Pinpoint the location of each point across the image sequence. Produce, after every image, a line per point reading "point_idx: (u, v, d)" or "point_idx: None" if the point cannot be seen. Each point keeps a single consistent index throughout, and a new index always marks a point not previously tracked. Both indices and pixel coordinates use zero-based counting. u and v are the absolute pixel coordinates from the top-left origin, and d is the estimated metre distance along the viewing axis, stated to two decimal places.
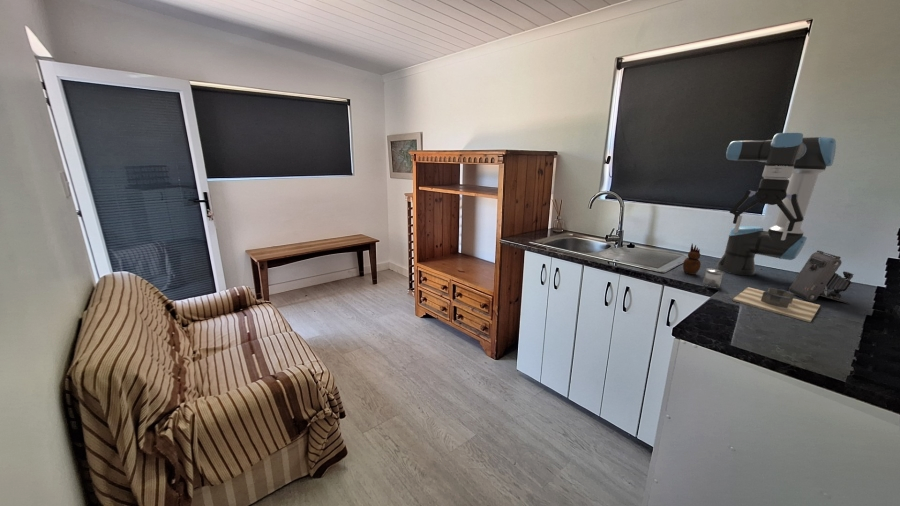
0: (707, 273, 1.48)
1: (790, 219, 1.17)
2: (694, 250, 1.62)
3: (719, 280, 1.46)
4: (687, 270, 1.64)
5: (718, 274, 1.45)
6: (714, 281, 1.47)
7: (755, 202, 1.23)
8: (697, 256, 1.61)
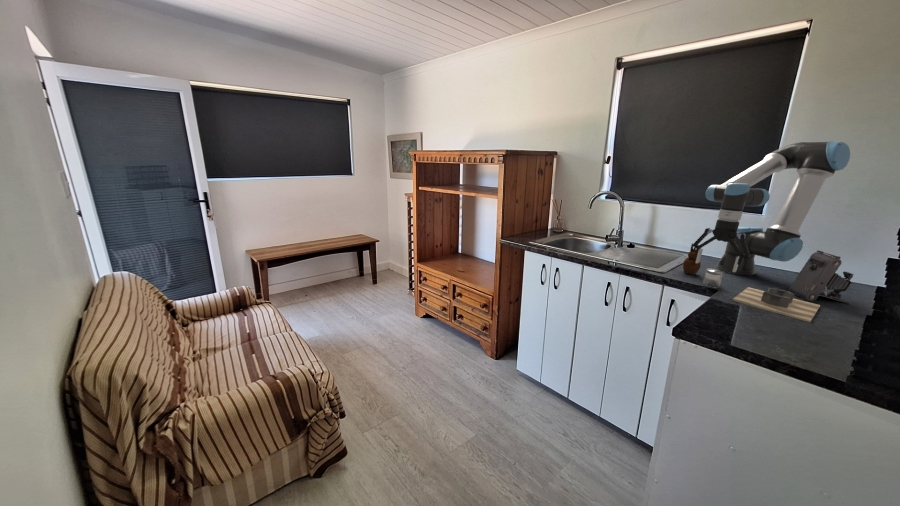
0: (707, 273, 1.48)
1: (739, 255, 1.39)
2: (694, 250, 1.62)
3: (719, 280, 1.46)
4: (687, 270, 1.64)
5: (718, 274, 1.45)
6: (714, 281, 1.47)
7: (712, 239, 1.45)
8: None
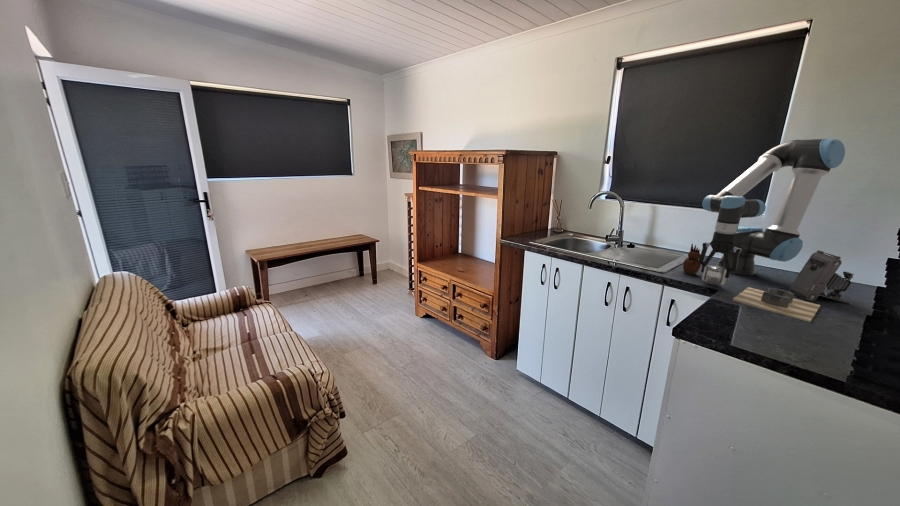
0: (708, 270, 1.48)
1: (727, 268, 1.44)
2: (694, 250, 1.62)
3: (721, 277, 1.46)
4: (687, 270, 1.64)
5: (720, 271, 1.45)
6: (716, 279, 1.46)
7: (712, 252, 1.46)
8: (697, 256, 1.61)
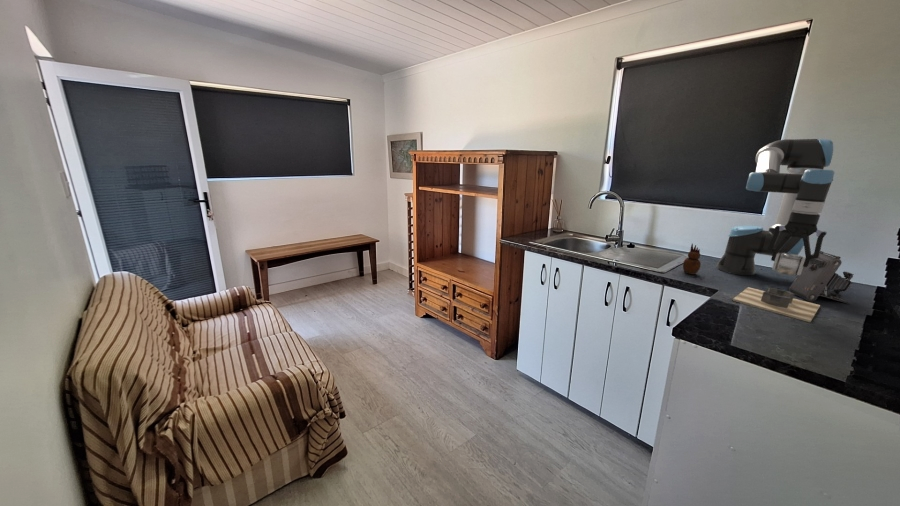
0: (782, 258, 1.26)
1: (807, 255, 1.22)
2: (694, 250, 1.62)
3: (798, 266, 1.24)
4: (687, 270, 1.64)
5: (797, 259, 1.23)
6: (792, 268, 1.25)
7: (788, 236, 1.25)
8: (697, 256, 1.61)
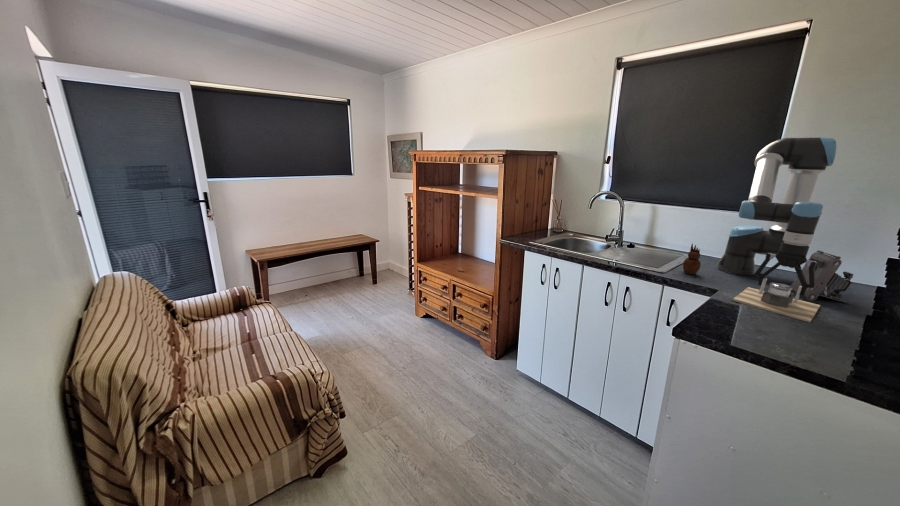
0: (772, 288, 1.30)
1: (803, 284, 1.24)
2: (694, 250, 1.62)
3: None
4: (687, 270, 1.64)
5: (786, 290, 1.27)
6: None
7: (777, 265, 1.29)
8: (697, 256, 1.61)
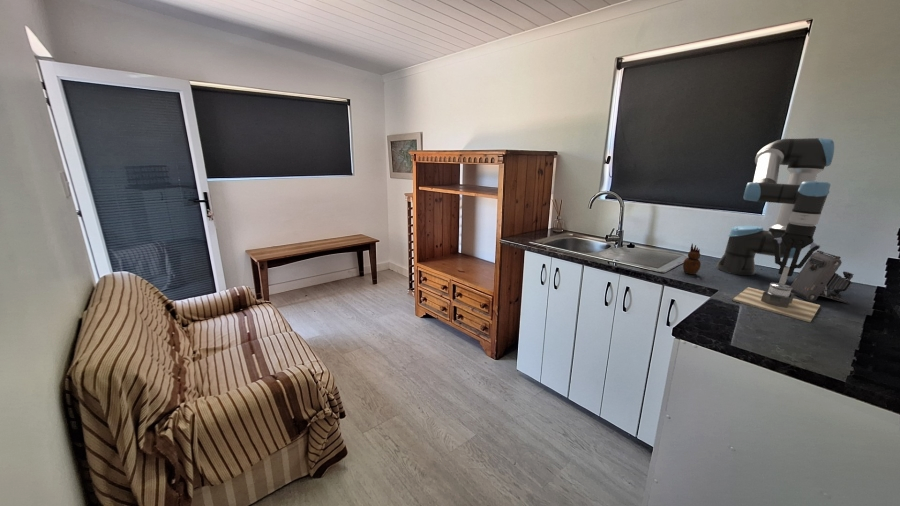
0: (772, 288, 1.30)
1: (792, 265, 1.26)
2: (694, 250, 1.62)
3: None
4: (687, 270, 1.64)
5: (786, 290, 1.27)
6: None
7: (788, 248, 1.26)
8: (697, 256, 1.61)
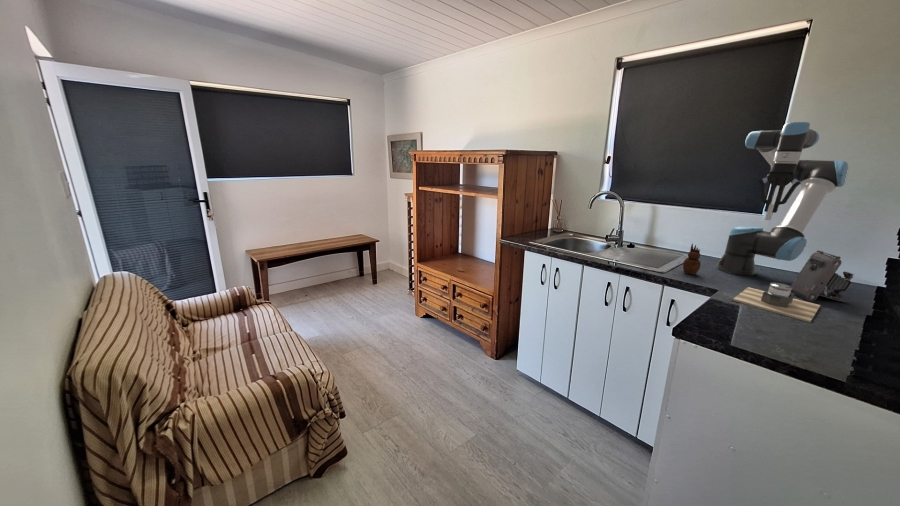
0: (772, 288, 1.30)
1: (776, 202, 1.38)
2: (694, 250, 1.62)
3: None
4: (687, 270, 1.64)
5: (786, 290, 1.27)
6: None
7: (773, 186, 1.38)
8: (697, 256, 1.61)
